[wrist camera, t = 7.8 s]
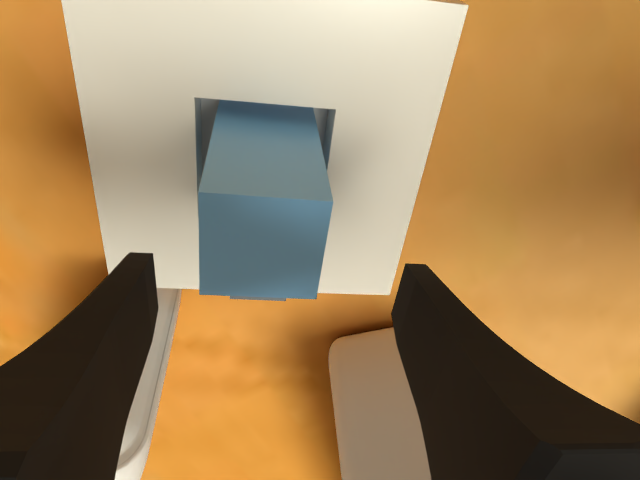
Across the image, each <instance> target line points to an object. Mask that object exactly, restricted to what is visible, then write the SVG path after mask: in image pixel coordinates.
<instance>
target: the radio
mask: <svg viewBox="0 0 640 480" xmlns="http://www.w3.org/2000/svg"><path fill="white" fill-rule="evenodd" d="M328 362H329V373H330V381H331V390H332V399H333V407H334V416H335V425H336V433H337V442H338V451H339V459H340V468H341V477H342V480H431V475H430V469H429V464H428V458H427V453H426V448H425V443H424V438H423V433H422V428H421V423H420V420H419V416H418V412H417V409H416V405H415V402H414V399H413V396H412V393H411V390H410V386H409V383H408V380H407V377H406V374H405V371H404V367H403V364H402V361H401V358H400V354H399V351H398V348H397V344H396V339H395V333H394V328H393V327H391V328H386V329H380V330H375V331H370V332H365V333H360V334H355V335H349V336H344V337H340V338H338V339H336V340H335V341H334V342H333V343H332V344H331V347H330V350H329V358H328Z"/></svg>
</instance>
